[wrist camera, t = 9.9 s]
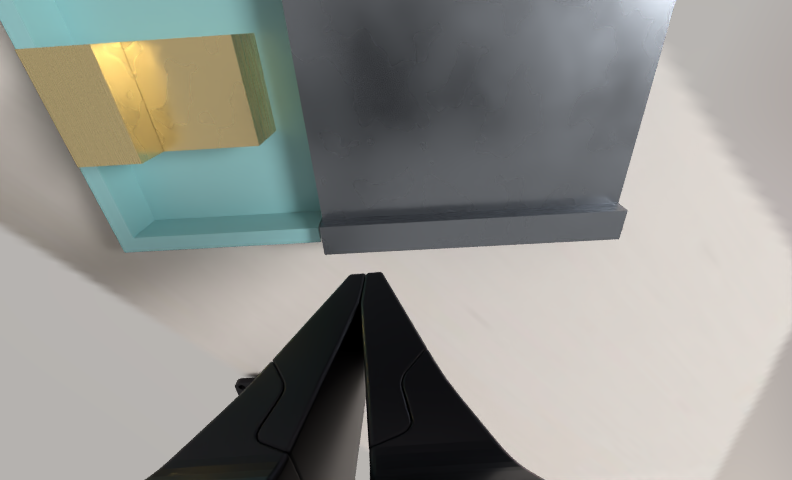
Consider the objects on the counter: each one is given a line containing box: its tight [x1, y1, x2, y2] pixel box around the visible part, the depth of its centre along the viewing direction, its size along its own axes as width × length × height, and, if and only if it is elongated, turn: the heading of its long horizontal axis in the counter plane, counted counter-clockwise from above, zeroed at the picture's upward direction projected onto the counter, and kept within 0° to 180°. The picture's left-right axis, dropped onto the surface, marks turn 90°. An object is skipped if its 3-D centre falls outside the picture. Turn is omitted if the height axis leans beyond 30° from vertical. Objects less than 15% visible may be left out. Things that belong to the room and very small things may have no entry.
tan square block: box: [121, 33, 276, 152], centre depth 15 cm, size 4×4×2 cm
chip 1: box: [15, 42, 164, 167], centre depth 14 cm, size 4×4×2 cm
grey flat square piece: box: [282, 0, 676, 255], centre depth 15 cm, size 14×14×3 cm
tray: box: [0, 0, 323, 252], centre depth 16 cm, size 14×10×2 cm
